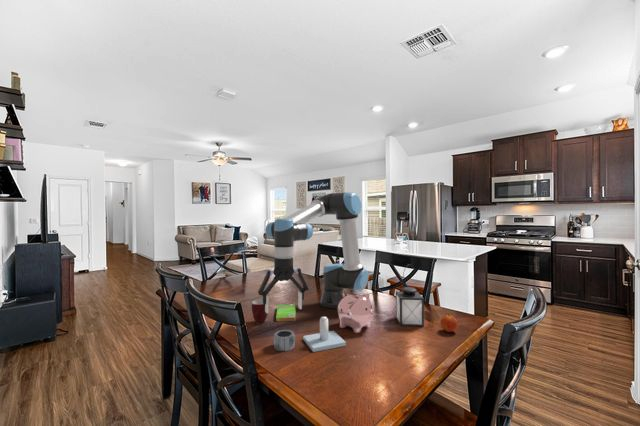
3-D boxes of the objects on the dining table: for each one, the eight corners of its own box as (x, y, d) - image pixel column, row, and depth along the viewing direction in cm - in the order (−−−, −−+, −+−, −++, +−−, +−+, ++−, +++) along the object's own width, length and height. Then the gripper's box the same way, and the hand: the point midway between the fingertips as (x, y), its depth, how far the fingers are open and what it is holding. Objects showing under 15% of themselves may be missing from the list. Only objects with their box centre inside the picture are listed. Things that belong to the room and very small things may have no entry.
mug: (266, 327, 137) (265, 306, 137) (248, 327, 137) (248, 306, 137) (269, 319, 147) (269, 299, 147) (253, 319, 147) (253, 299, 147)
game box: (276, 323, 145) (277, 307, 165) (295, 323, 146) (295, 307, 166) (276, 317, 144) (277, 302, 165) (295, 317, 145) (295, 302, 166)
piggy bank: (363, 338, 125) (363, 300, 125) (331, 327, 137) (330, 293, 137) (381, 327, 136) (381, 293, 136) (350, 318, 148) (350, 286, 148)
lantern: (418, 318, 148) (417, 262, 148) (424, 326, 137) (423, 266, 137) (395, 317, 149) (395, 262, 149) (399, 326, 138) (399, 266, 138)
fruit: (456, 329, 133) (456, 311, 133) (458, 335, 127) (458, 317, 127) (440, 327, 136) (440, 310, 136) (441, 333, 129) (441, 315, 129)
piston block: (333, 334, 129) (333, 310, 129) (345, 345, 118) (345, 320, 118) (303, 339, 124) (303, 315, 124) (313, 352, 113) (313, 325, 113)
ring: (291, 340, 123) (291, 328, 123) (296, 348, 116) (296, 336, 116) (272, 343, 120) (272, 331, 120) (277, 352, 113) (276, 339, 113)
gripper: (309, 254, 126) (309, 303, 126) (250, 257, 116) (250, 310, 116) (316, 256, 119) (316, 309, 119) (253, 260, 109) (253, 317, 109)
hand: (283, 310), depth 118 cm, fingers open, 13 cm apart
